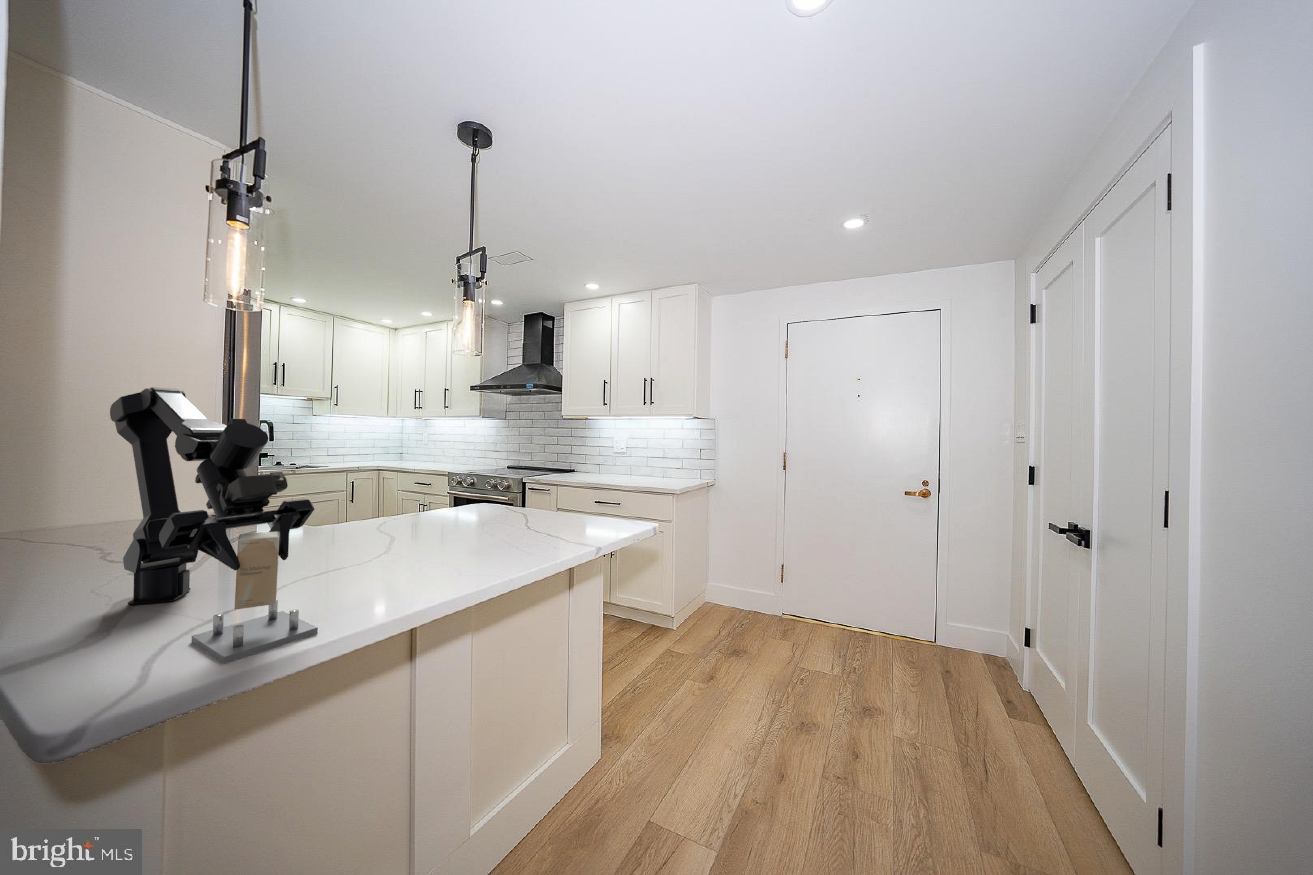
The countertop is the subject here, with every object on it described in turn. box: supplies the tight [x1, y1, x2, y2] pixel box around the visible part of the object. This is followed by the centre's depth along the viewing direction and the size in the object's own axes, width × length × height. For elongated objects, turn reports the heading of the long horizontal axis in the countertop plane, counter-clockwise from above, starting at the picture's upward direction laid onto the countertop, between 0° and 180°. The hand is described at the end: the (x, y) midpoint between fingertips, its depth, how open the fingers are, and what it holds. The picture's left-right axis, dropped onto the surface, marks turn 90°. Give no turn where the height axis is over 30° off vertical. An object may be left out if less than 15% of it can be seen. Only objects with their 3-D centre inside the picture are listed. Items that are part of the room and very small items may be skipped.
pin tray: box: [191, 599, 319, 665], centre depth 75 cm, size 12×12×4 cm
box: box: [234, 531, 280, 610], centre depth 75 cm, size 5×4×11 cm
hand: (262, 563), depth 75 cm, fingers closed on box, 6 cm apart
